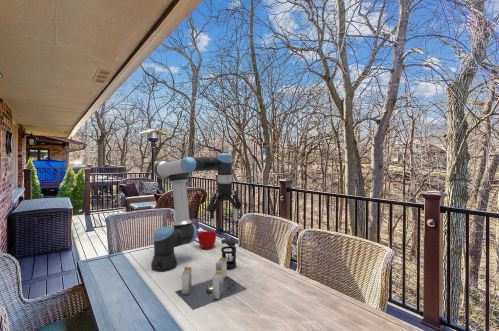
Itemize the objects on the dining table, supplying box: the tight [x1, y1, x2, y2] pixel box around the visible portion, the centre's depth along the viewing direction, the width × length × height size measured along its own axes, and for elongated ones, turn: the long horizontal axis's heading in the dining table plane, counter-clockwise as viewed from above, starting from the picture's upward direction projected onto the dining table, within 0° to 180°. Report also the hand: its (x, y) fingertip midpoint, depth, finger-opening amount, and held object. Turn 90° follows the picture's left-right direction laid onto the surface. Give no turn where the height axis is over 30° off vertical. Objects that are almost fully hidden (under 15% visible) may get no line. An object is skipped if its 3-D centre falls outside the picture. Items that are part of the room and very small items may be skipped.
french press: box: [220, 229, 237, 271], centre depth 167 cm, size 12×9×23 cm
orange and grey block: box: [181, 266, 193, 294], centre depth 138 cm, size 3×7×10 cm, turn 1°
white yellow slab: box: [215, 256, 228, 281], centre depth 150 cm, size 3×7×10 cm, turn 163°
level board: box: [174, 275, 248, 311], centre depth 139 cm, size 20×30×3 cm, turn 128°
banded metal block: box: [212, 270, 224, 299], centre depth 134 cm, size 3×7×10 cm, turn 169°
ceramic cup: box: [193, 230, 217, 250], centre depth 203 cm, size 13×17×10 cm
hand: (224, 222), depth 148 cm, fingers open, 13 cm apart
